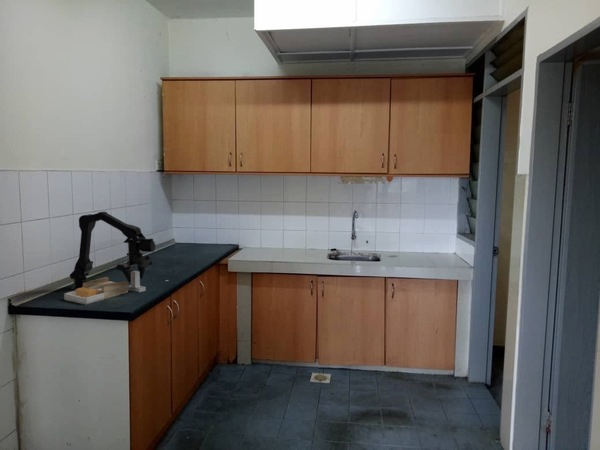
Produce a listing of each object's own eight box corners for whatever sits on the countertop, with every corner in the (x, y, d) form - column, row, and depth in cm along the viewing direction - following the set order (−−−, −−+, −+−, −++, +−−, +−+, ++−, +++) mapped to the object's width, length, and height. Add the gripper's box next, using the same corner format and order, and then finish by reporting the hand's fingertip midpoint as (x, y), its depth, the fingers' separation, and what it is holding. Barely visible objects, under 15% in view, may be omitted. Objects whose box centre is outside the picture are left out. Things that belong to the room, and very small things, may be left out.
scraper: (126, 289, 226) (125, 271, 225) (132, 287, 230) (131, 269, 228) (139, 292, 222) (138, 273, 220) (145, 290, 225) (144, 271, 224)
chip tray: (64, 299, 208) (63, 293, 207) (83, 294, 216) (82, 288, 216) (85, 304, 200) (85, 298, 200) (104, 299, 209) (104, 293, 209)
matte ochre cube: (83, 295, 213) (76, 297, 209) (82, 287, 212) (75, 289, 209) (88, 296, 211) (81, 298, 207) (88, 288, 211) (81, 290, 207)
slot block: (83, 294, 216) (82, 282, 216) (107, 288, 229) (106, 277, 228) (104, 299, 209) (103, 287, 208) (128, 292, 221) (127, 280, 220)
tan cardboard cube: (90, 296, 210) (83, 298, 207) (90, 288, 210) (83, 290, 206) (96, 297, 209) (88, 299, 205) (95, 289, 208) (88, 291, 205)
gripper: (130, 255, 211) (131, 286, 213) (159, 249, 228) (160, 278, 229) (115, 253, 216) (116, 283, 218) (144, 247, 233) (145, 276, 235)
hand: (135, 280), depth 225 cm, fingers open, 7 cm apart
